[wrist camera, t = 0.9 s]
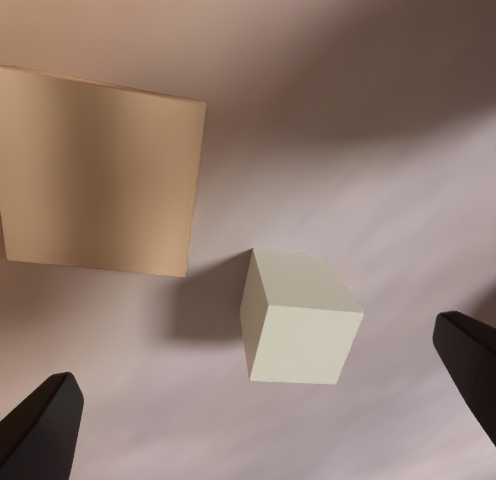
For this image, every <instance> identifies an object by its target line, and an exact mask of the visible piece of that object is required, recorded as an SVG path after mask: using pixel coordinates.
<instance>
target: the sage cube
mask: <svg viewBox="0 0 496 480" xmlns="http://www.w3.org/2000/svg"><path fill="white" fill-rule="evenodd" d="M239 313H240V319H241V326H242V333H243V340H244V347H245V354H246V361H247V368H248V375H249V381H270V382H294V383H318V384H336V382H337V380H338V377H339V375H340V372H341V370H342V368H343V365H344V363H345V360H346V358H347V355H348V353H349V350H350V348H351V345H352V343H353V340H354V338H355V335H356V333H357V330H358V328H359V326H360V323H361V321H362V318H363V316H364V312H363V310H362V309H361V307H360V306H359V304H358V303H357V301H356V300H355V298H354V297H353V295H352V294H351V292H350V291H349V289H348V288H347V286H346V285H345V283H344V282H343V280H342V279H341V277H340V276H339V275H338V273H337V272H336V270H335V269H334V267H333V266H332V264H331V263H330V261H329V260H328V258H327V257H326V256H317V255H308V254H300V253H291V252H282V251H274V250H265V249H256V248H253V250H252V255H251V259H250V264H249V269H248V273H247V278H246V283H245V287H244V292H243V297H242V301H241V306H240V311H239Z"/></svg>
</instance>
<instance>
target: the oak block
mask: <svg viewBox="0 0 496 480" xmlns="http://www.w3.org/2000/svg"><path fill="white" fill-rule="evenodd" d="M205 114H206V102H202V101H197V100H192V99H186V98H181V97H176V96H170V95H165V94H160V93H155V92H149V91H144V90H139V89H133V88H128V87H123V86H118V85H112V84H107V83H102V82H96V81H91V80H86V79H80V78H75V77H70V76H65V75H59V74H54V73H49V72H43V71H38V70H33V69H28V68H22V67H17V66H5V65H0V212H1V220H2V227H3V235H4V242H5V249H6V257H7V260H10V261H21V262H31V263H42V264H52V265H63V266H73V267H84V268H95V269H105V270H116V271H126V272H137V273H147V274H158V275H168V276H179V277H186V268H187V260H188V252H189V244H190V236H191V228H192V220H193V212H194V203H195V195H196V187H197V179H198V171H199V163H200V155H201V146H202V138H203V130H204V122H205Z"/></svg>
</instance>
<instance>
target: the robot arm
mask: <svg viewBox="0 0 496 480" xmlns="http://www.w3.org/2000/svg"><path fill="white" fill-rule="evenodd" d="M433 344H434V347H435V349H436V351H437V352H438V354H439V356H440V358H441V360H442V361H443V363H444V365H445V367H446V369H447V370H448V372H449V374H450V376H451V378H452V379H453V381H454V383H455V385H456V386H457V388H458V390H459V392H460V394H461V395H462V397H463V399H464V400H465V402H466V404H467V405H468V407H469V408H470V410H471V412H472V413H473V415H474V416H475V417H476V419H477V420H478V422H479V423H480V425H481V426H482V428H483V429H484V431H485V432H486V433H487V435H488V436H489V438H490V439H491V441H492V442H493V444H494V445H495V447H496V328H494V327H492V326H490V325H487V324H485V323H483V322H481V321H478V320H476V319H474V318H472V317H469V316H467V315H465V314H462V313H460V312H458V311H447V312H441V313H439V314H438V315H437V317H436V321H435V327H434V332H433ZM83 405H84V398H83V394H82V392H81V390H80V388H79V386H78V384H77V381H76V379H75V377H74V375H73V374H72V373H70V372H64V373H58V374H53V375H51V376H50V377H49V378H47V379H46V380H45V381H44V382H43V383H42V384H41V385H40V386H39V387H38V388H36V389H35V390H34V391H33V392H32V393H31V394H30V395H29V396H28V397H27V398H25V399H24V400H23V401H22V402H21V403H20V404H19V405H18V406H17V407H16V408H14V409H13V410H12V411H11V412H10V413H9V414H8V415H7V416H6V417H5V418H3V419H2V420H1V421H0V480H69V476H70V473H71V468H72V463H73V458H74V453H75V448H76V442H77V437H78V432H79V426H80V421H81V416H82V410H83Z"/></svg>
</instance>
